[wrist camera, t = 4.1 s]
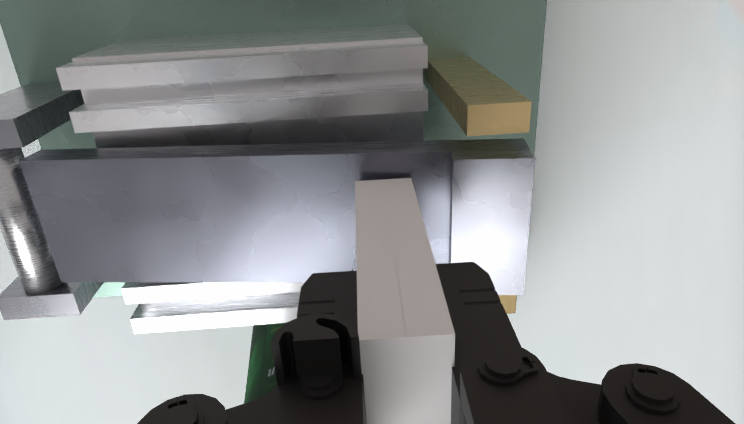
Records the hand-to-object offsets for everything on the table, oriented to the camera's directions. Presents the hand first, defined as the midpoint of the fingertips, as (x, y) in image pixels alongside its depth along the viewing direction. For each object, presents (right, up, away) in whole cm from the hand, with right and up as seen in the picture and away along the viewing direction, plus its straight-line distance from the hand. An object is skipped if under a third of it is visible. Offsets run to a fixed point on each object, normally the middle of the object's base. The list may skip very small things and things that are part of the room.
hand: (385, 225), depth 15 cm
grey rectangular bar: (-3, +1, +2) cm, 4 cm away
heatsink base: (-4, +3, +7) cm, 9 cm away
